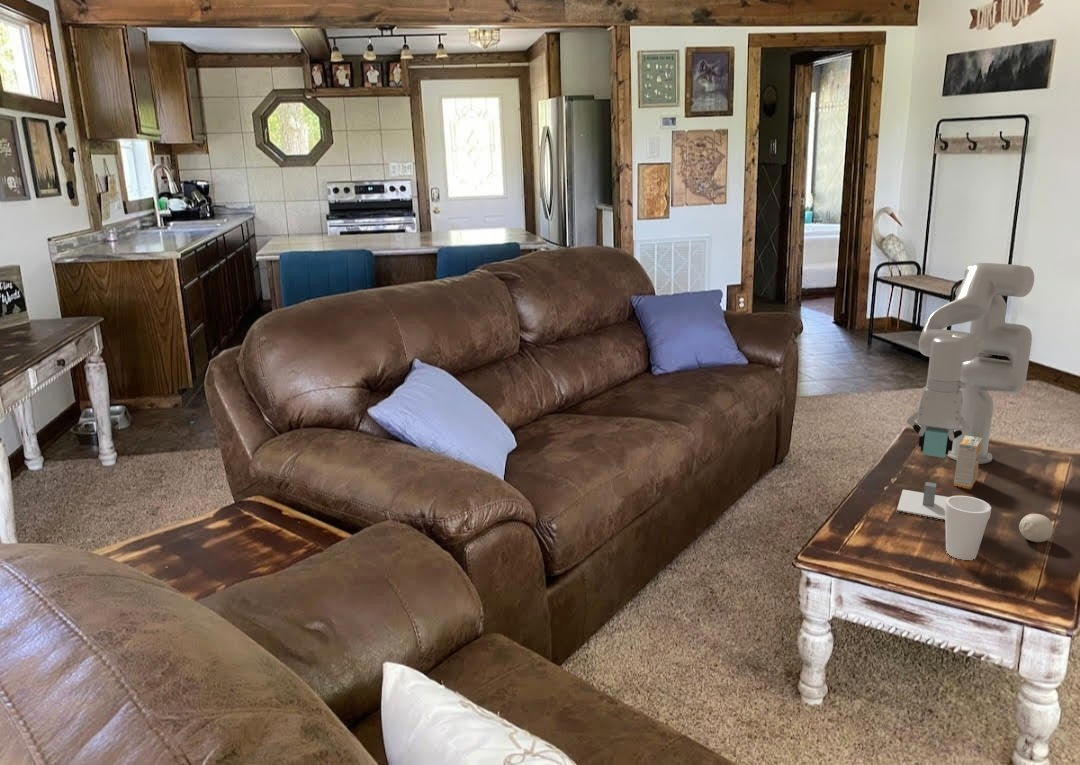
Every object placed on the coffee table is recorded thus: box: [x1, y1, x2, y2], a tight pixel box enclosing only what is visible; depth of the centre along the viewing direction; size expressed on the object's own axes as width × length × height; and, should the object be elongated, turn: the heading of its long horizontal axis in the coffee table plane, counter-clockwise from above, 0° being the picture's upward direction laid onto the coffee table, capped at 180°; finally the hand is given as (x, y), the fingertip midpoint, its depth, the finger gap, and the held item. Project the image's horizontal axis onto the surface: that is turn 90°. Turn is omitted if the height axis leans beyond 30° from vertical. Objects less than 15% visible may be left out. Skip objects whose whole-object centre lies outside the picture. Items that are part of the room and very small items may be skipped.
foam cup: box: [944, 495, 992, 561], centre depth 185 cm, size 10×9×13 cm
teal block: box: [922, 427, 949, 459], centre depth 206 cm, size 5×5×7 cm
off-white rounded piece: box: [1018, 513, 1054, 543], centre depth 191 cm, size 7×7×7 cm
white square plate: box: [896, 481, 949, 520], centre depth 210 cm, size 14×14×6 cm
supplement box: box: [953, 435, 982, 490], centre depth 223 cm, size 8×5×13 cm, turn 143°
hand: (934, 450), depth 206 cm, fingers closed on teal block, 5 cm apart
